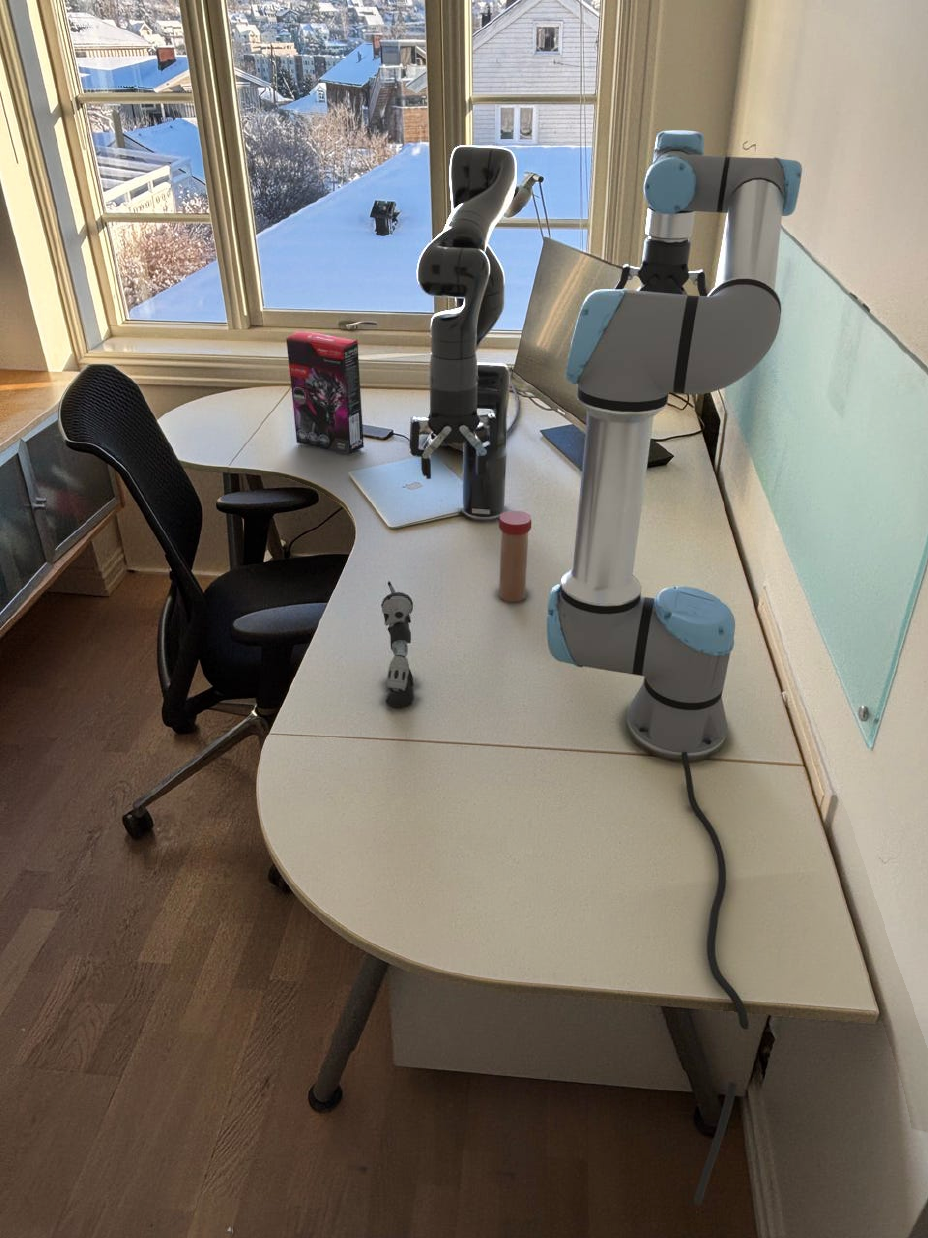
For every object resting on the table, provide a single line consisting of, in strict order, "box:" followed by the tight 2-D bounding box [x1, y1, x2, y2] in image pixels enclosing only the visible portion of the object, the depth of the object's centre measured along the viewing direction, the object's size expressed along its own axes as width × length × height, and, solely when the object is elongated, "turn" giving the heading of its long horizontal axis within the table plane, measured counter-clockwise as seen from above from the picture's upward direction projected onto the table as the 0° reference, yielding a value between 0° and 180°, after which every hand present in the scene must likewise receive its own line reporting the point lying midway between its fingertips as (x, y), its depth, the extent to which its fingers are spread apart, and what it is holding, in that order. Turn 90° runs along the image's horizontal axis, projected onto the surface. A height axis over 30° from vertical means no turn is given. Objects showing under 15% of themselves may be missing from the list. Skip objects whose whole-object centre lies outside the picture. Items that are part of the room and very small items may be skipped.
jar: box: [498, 530, 529, 603], centre depth 171 cm, size 5×5×16 cm
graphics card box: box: [285, 330, 365, 456], centre depth 225 cm, size 17×7×27 cm, turn 62°
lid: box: [498, 509, 532, 535], centre depth 167 cm, size 6×6×2 cm
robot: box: [380, 580, 415, 709], centre depth 145 cm, size 20×5×20 cm, turn 3°
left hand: (453, 475), depth 154 cm, fingers open, 8 cm apart
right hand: (652, 364), depth 163 cm, fingers open, 13 cm apart
